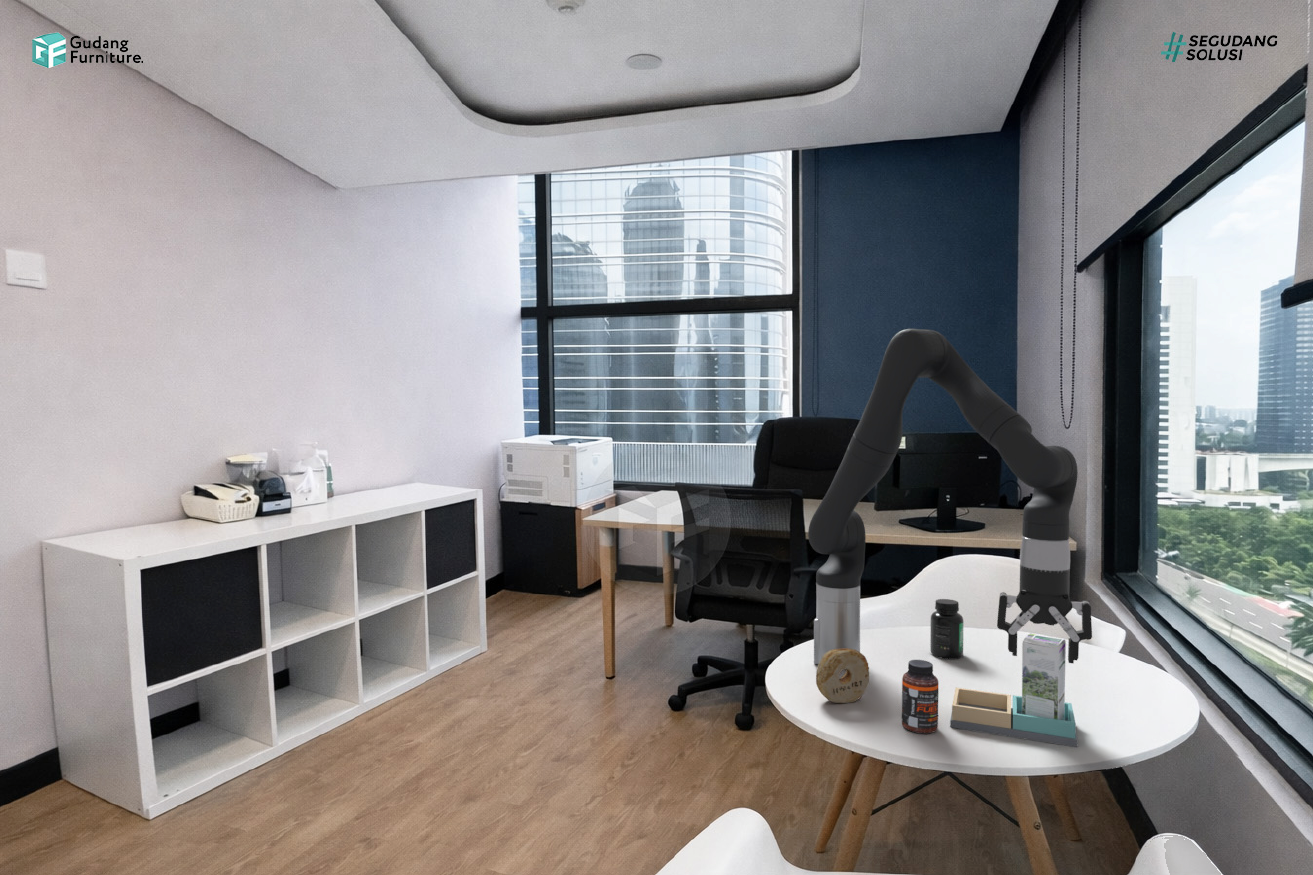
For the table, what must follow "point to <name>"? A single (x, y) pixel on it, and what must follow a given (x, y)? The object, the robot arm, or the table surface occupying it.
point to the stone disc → (850, 683)
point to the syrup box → (1043, 676)
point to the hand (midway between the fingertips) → (1042, 658)
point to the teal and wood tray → (1009, 718)
